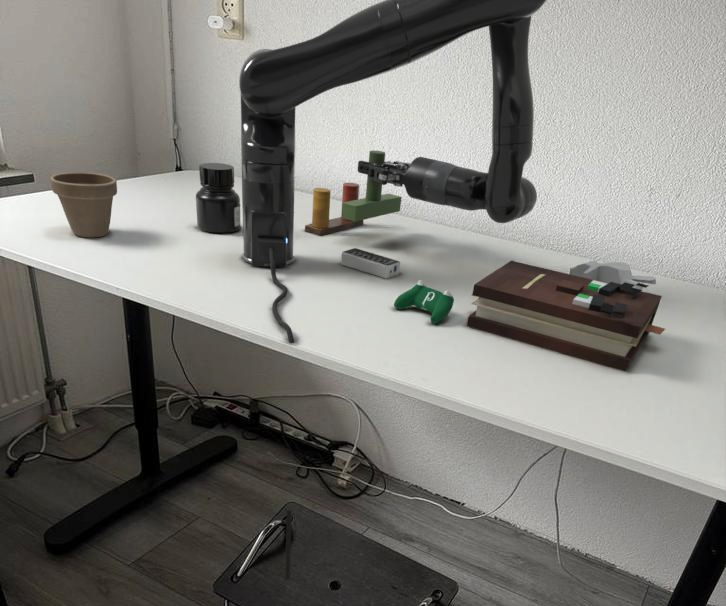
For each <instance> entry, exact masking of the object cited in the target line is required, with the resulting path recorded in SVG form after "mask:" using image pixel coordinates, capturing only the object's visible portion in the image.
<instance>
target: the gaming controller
mask: <svg viewBox="0 0 726 606" xmlns="http://www.w3.org/2000/svg"><path fill="white" fill-rule="evenodd" d="M454 302H455V298H454V296H453V295H452V293H451V292H450V291H449V290H448V289H445V290H444V292H443V291H440V290H438V289H434V288H432V287H429V286H427V285H426V284H425V283H424V282H423V281H422V280H421V279H420V280H418V281H417V283H416V284H415V285H413V287H412V288H410V289H408V290H407V291H404V292H402V293H401V294H400V295H398V296H397V298H396V299H395V301H394V302H393V307H394V308H395V309H396V310H404V309H408V308H410V307H413V306H414V307H416V309H419V310H424V311H427V312H429V313H430V314H431V316H430V323H432V324H434V325H436V324H438V323H439V322H441V321H442V320H444V319H445V318H446V316H448V315H449V313H451V310H452V309H453V306H454Z"/></svg>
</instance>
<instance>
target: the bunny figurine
mask: <svg viewBox="0 0 726 606" xmlns="http://www.w3.org/2000/svg"><path fill="white" fill-rule="evenodd" d="M569 274H571V275H575V276H579V277H583V278H588V279H592V280H596V281H600V282H604V283H610V282H614V283H618V284H623V283H625V282H626V283H630V284H633V285H635V286H633V287H632V288H636V289H640V290H642V291H643V288H644V287H641V286H637V285H636V284H638V283H641V284H647V285H649V284H650V285H657V277H655V276H653V275H652V276H651V275H633V274H632V270H631V265H630V264H628V263H625V262H620V261H611V262H602V263H601V262H598V261H597V260H590V261H586V262H584V263H581V264H577V265H576V266H572V267H570V268H569Z"/></svg>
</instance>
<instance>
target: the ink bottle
mask: <svg viewBox="0 0 726 606" xmlns="http://www.w3.org/2000/svg"><path fill="white" fill-rule="evenodd" d="M198 169H199V170H198V171H199V172H198V173H199V181H200V186H201V188H200V189H198V191H197V192H196V194H195V207H196V208H195V209H196V224H197V227H198V228H199V229H200V230H201V231H204V232H208V233H212V234H214V233H215V234H228V233H234V232H237V231H239V230H240V229H241V223H242V222H241V197H240V195H239V194H238V193H237V192H236V191H235V189H234V187H235V168H234V165H231V164H227V163H222V162H221V163H220V162H205V163H201V164H199V165H198Z"/></svg>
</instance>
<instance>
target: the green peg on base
mask: <svg viewBox="0 0 726 606" xmlns="http://www.w3.org/2000/svg"><path fill="white" fill-rule="evenodd" d="M368 162H370V163H377V164H381V165H382V164H384V162H386V152H385V151H382V150H369V154H368ZM368 177H369V175H367V178H366V189H365V197H364V198H359V199H358V200H353V201H348V202H343V207H342V206H341V212H342V218H344V219H348V220H351V221H355V222H356V221H360V220H363V221H364V220H369V219H372V218H377V217H381V216H385V215H390V214H394V213H398V212H401V205H402V196H400V195H395V194H392V193H384V194H383V193H382V192H383V185H382V184H380V183H378V182H376V181H373V180H371V179H369V178H368Z"/></svg>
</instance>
